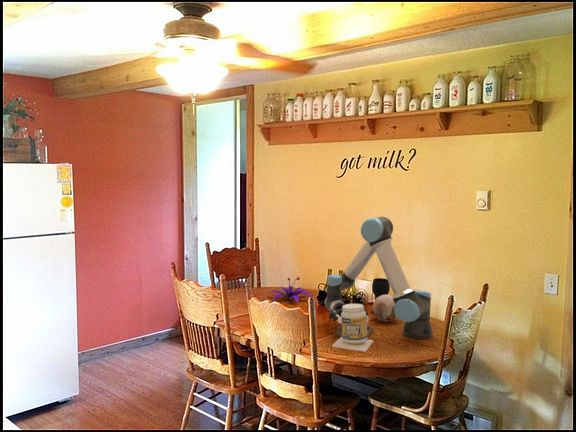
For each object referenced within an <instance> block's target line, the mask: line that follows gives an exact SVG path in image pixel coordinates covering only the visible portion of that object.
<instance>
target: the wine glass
mask: <svg viewBox="0 0 576 432" xmlns="http://www.w3.org/2000/svg"><path fill="white" fill-rule="evenodd" d="M371 290H372V293H373V295H374V297H376V299H377V298H378V297H379V296H381V295H389V293H390V290H391V286H390V284H389V282H388V279H387V278H384V277H380V278H379V277H376V278H373V280H372V284H371ZM370 312H371V314H372V315H373V314H374V312H373V310H371V311H370ZM374 315H375V314H374Z"/></svg>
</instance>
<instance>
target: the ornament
mask: <svg viewBox="0 0 576 432" xmlns="http://www.w3.org/2000/svg"><path fill="white" fill-rule="evenodd" d="M393 296H394V295H390V294H388V295H381V296H379V297H378V298H377V297H376V298H375V300H374V301H373V305H372V311H373V312H374V316H375V318H377V319H378V320H379V321H381V322H385V323H387V322H392V321H395V319H398V318H397V316H396V315H395V312H394V306H395V304H394V301H393V299H392V298H393Z"/></svg>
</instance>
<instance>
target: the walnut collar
mask: <svg viewBox="0 0 576 432" xmlns="http://www.w3.org/2000/svg"><path fill="white" fill-rule="evenodd" d="M373 332H374V326H368V325H367V339H369V337H370V336H371V335H372V334H373ZM341 336H342V324H341V325H339V326H338V327H337V329H335V330H334V337H338V338H340V337H341Z"/></svg>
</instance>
